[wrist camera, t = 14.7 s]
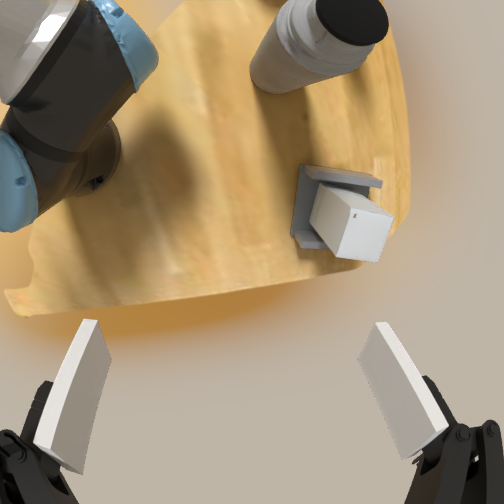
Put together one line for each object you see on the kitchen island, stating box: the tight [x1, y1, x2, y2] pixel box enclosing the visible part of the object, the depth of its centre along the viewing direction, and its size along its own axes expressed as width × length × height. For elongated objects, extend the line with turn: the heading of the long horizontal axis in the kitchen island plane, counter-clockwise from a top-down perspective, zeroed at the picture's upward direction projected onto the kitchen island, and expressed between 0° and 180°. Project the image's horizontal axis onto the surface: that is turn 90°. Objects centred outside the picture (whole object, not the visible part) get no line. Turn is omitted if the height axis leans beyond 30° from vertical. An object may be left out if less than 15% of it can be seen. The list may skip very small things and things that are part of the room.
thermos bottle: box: [250, 0, 389, 94], centre depth 23 cm, size 8×8×28 cm
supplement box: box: [309, 182, 394, 263], centre depth 40 cm, size 7×7×13 cm
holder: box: [290, 164, 383, 249], centre depth 44 cm, size 13×12×6 cm
